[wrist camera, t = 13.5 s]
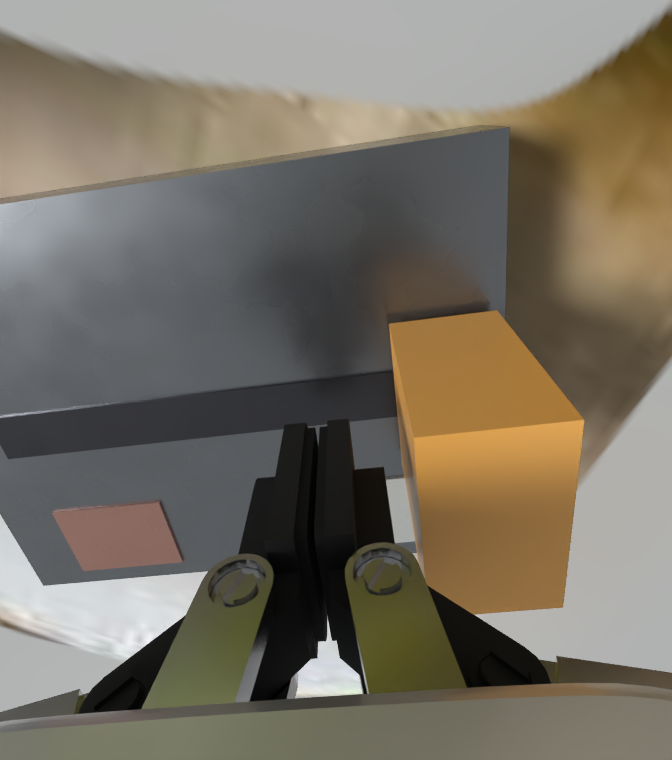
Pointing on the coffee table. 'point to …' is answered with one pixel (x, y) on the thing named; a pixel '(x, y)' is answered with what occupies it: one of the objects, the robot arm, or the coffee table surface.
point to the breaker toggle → (485, 462)
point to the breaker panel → (223, 336)
